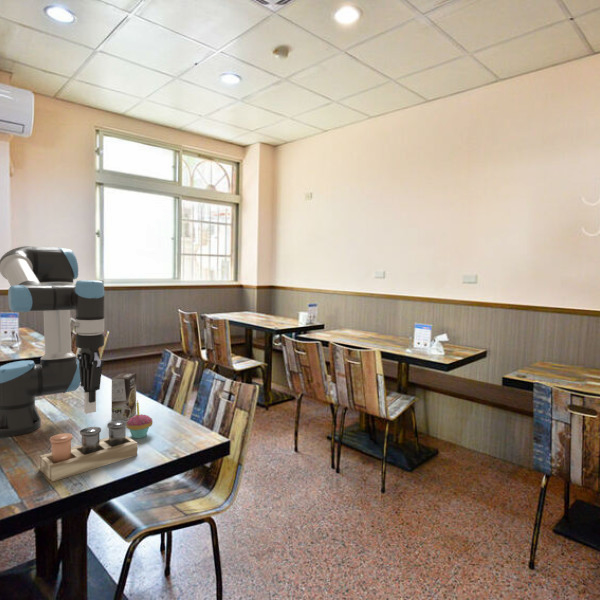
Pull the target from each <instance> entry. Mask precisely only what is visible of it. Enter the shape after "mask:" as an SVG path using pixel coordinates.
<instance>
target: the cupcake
mask: <svg viewBox="0 0 600 600" xmlns="http://www.w3.org/2000/svg"><path fill="white" fill-rule="evenodd" d="M126 422H127V425H126V428H127V429H128V430H129V432H130V435H131V437H132V438H134V439H141V438H144V437H146V436H147V434H148V431H149V428H150V427H152V425H153V423H154V422H153V418H151V417H150V416H149V415H145V414H140V404H139V400H138V399H136V415H135V414H134V415H133V416H131V417H130V418H129V419H128V420H126Z"/></svg>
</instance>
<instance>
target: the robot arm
mask: <svg viewBox="0 0 600 600" xmlns="http://www.w3.org/2000/svg"><path fill="white" fill-rule="evenodd" d="M78 264H79V263H78V259H77V256H76V254H75V252H74V251H73V250H71V249H70V248H65V247H64V248H63V247H49V246H47V247H46V246H45V247H44V246H25V245H23V246H18V247H15V248H12V249H10V250H8V251H7V252H5V253H4V254H3V255H2V256H1V257H0V274H1V276H2V278H4V279H5V280H7V282H8V283H9V288H8V292H7V303H8V308H9V310H10V311H12V312H15V313H16V312H19V313H20V312H22V313H29V312H43V331H44V332H43V333H44V354H43V355H42V356H41V357H40V363H35V361H34V360H31V359H30V360H29V359H28V360H18V361H13V362H9V363H6V364H3V365H0V437H14V436H21V435H25V434H29V433H32V432H34V431H36V430H38V429H39V428H40V427H41V426H42V419H41V416H40V413H39V411H38V409H37V406H36V398H39V397H44V396H49V395H51V396H52V395H57V394H66V393H70V392H74V391H76V390H77V389H78V388H79V387H80V386H81V388H82V389H83V391H84V392H83V393H84V395H83V396H84V405H83V406H84V413H85V414H92V413H96V412H97V391H100V389H101V383H102V382H101V380H102V379H101V378H102V371H103V366H104V362H105V361H104V359H100V358H101V357H100V356H101V355H100V348H101V347H104V346H105V334H104V332H105V295H106V292H105V285H104V282H103V281H102V280H97V279H96V280H95V279H93V280H92V279H88V280H87V279H81V280H77V279H78V277H79V265H78ZM74 280H76V282H75V283H74ZM71 311H75V323H73V326H74V327H75V333H77V334H75V347H76V348H77V349H80V353H77V354H75V353H73V351H72V331H71V330H72V328H71Z"/></svg>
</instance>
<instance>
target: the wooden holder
mask: <svg viewBox="0 0 600 600" xmlns="http://www.w3.org/2000/svg"><path fill="white" fill-rule="evenodd" d="M135 456H138V442H137V441H135V439H132V438H130V437H129V436H127V435H126V443H124V444H121V445H117V446H114V447H111V446H110V445H109V436H108V437H105V438H101V439H100V451H97V452H93V453H90V454H86V455H83V454H82V444H79V445H75V446H71V459H69V460H66V461H62V462H59V463H52V452H49V453H45V454H41V455H39V470H40V471H41V472H42V473H43V475H45V476H46V477H47V478H48V479H49V480H50V482H52V483H53V482H56V481H60V480H63V479H66V478H68V477H69V478H70V477H73V476H75V475H79V474H81V473H84V472H89V471H91V470H93V469H94V470H95V469H97V468H101V467H105V466H106V465H109V464H113V463H116V462H119V461H123V460H125V459H129V458H133V457H135Z"/></svg>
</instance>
